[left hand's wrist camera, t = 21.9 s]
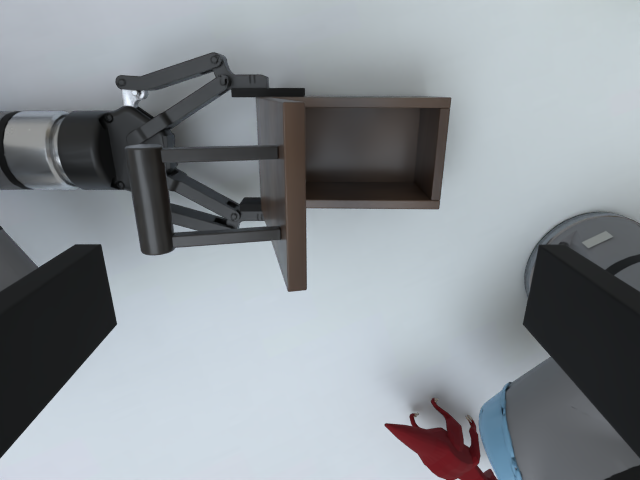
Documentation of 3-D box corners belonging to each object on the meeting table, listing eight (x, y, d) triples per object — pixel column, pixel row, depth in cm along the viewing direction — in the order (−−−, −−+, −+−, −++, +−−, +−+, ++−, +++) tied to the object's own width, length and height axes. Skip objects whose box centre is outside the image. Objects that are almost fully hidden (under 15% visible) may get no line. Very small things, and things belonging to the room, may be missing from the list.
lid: (305, 101, 19) (103, 102, 17) (307, 290, 23) (138, 307, 21) (268, 97, 35) (159, 96, 33) (272, 209, 38) (174, 215, 36)
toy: (428, 418, 66) (490, 518, 57) (351, 424, 47) (428, 576, 38) (463, 392, 64) (534, 492, 55) (399, 387, 45) (492, 538, 36)
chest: (427, 96, 43) (451, 97, 35) (419, 188, 47) (439, 209, 38) (275, 95, 44) (263, 96, 35) (278, 187, 47) (267, 208, 39)
